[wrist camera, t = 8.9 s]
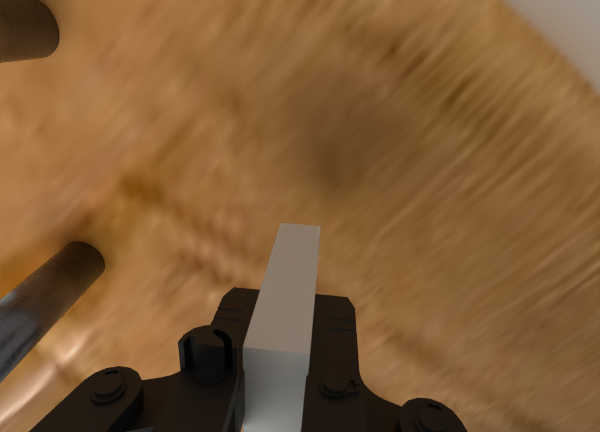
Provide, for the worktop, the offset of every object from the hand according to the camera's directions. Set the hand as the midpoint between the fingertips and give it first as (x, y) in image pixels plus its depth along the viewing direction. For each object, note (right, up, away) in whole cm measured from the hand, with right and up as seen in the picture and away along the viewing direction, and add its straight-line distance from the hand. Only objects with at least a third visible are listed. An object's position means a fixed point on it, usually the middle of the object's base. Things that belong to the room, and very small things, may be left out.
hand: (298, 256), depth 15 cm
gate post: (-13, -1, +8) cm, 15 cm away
